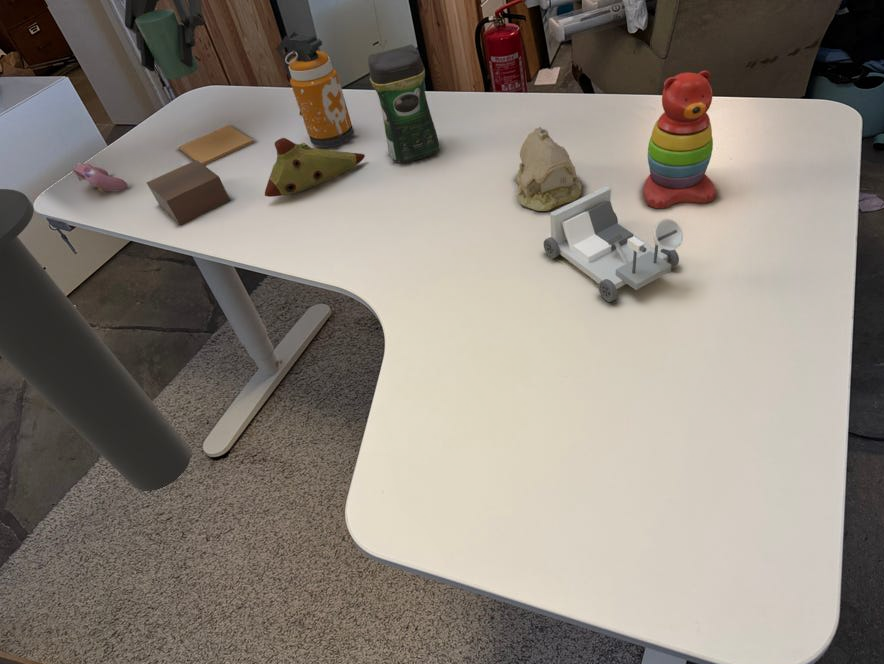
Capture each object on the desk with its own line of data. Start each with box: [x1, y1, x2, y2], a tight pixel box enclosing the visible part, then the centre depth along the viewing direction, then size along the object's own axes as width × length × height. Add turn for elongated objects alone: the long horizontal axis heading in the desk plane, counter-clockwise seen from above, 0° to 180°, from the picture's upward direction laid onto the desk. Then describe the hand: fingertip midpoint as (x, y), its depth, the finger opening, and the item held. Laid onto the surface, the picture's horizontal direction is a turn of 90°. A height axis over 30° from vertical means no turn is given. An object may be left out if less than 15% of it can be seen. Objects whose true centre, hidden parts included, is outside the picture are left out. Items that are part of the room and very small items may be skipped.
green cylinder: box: [135, 8, 200, 80], centre depth 113 cm, size 7×7×10 cm
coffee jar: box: [367, 44, 440, 164], centre depth 109 cm, size 10×8×19 cm
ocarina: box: [264, 137, 366, 198], centre depth 108 cm, size 20×5×10 cm, turn 125°
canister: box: [275, 31, 355, 148], centre depth 117 cm, size 9×11×20 cm
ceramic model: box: [516, 126, 583, 212], centre depth 98 cm, size 14×11×10 cm
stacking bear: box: [642, 70, 717, 209], centre depth 90 cm, size 11×10×18 cm
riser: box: [146, 160, 231, 226], centre depth 111 cm, size 10×10×5 cm
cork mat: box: [177, 124, 254, 166], centre depth 128 cm, size 12×12×1 cm
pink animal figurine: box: [71, 162, 128, 193], centre depth 119 cm, size 10×5×7 cm, turn 50°
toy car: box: [543, 185, 684, 303], centre depth 82 cm, size 18×10×12 cm
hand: (167, 65), depth 113 cm, fingers closed on green cylinder, 7 cm apart
